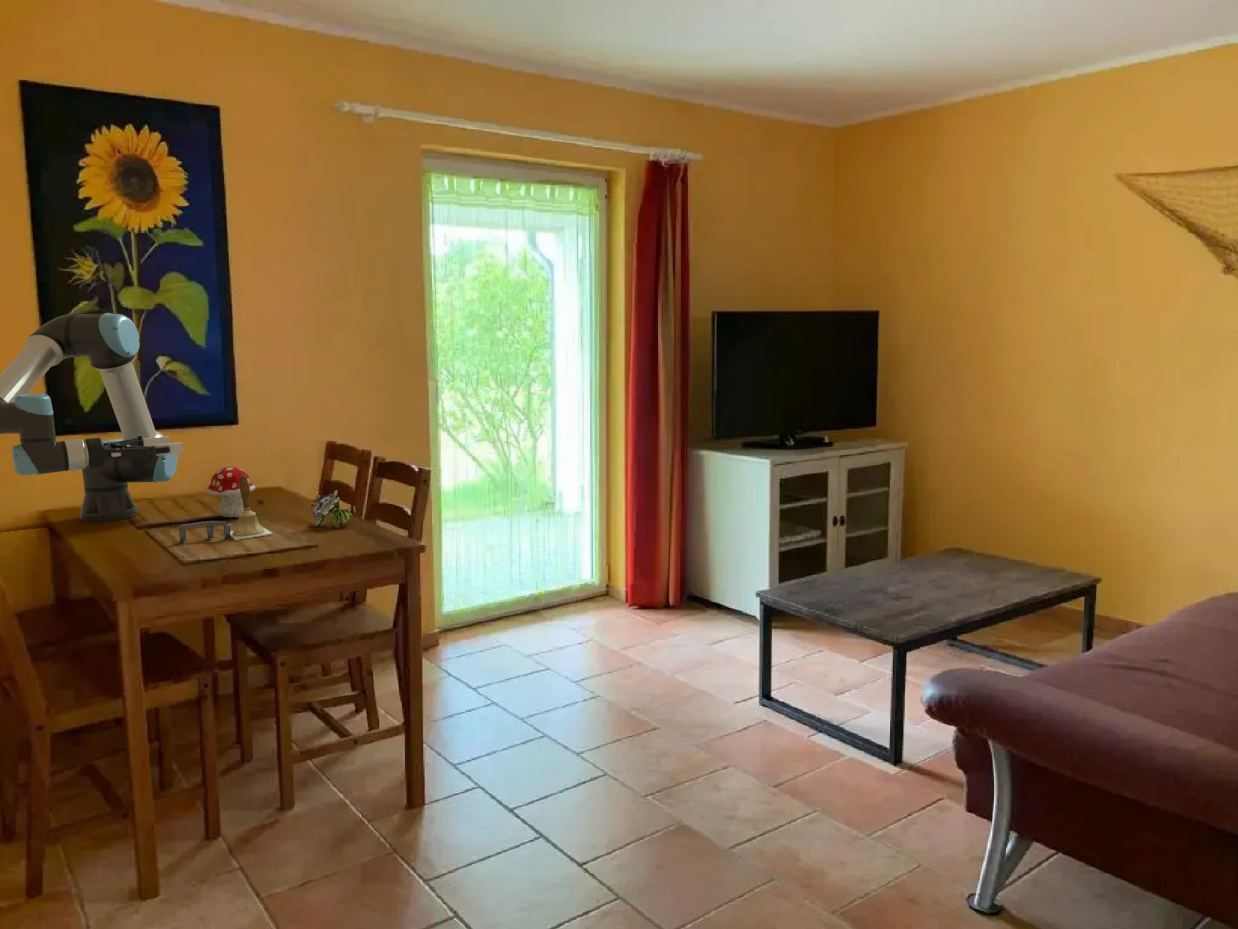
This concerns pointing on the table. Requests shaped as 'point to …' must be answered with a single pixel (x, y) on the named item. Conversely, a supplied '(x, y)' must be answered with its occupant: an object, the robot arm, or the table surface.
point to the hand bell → (247, 514)
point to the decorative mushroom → (229, 490)
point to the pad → (251, 535)
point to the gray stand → (209, 529)
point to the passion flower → (330, 510)
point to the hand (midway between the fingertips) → (176, 444)
